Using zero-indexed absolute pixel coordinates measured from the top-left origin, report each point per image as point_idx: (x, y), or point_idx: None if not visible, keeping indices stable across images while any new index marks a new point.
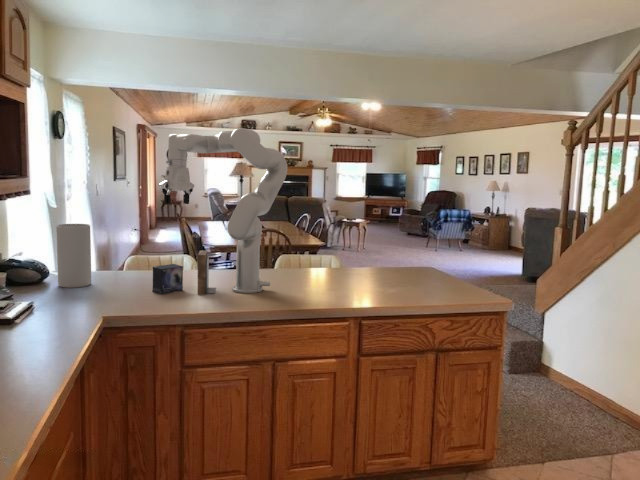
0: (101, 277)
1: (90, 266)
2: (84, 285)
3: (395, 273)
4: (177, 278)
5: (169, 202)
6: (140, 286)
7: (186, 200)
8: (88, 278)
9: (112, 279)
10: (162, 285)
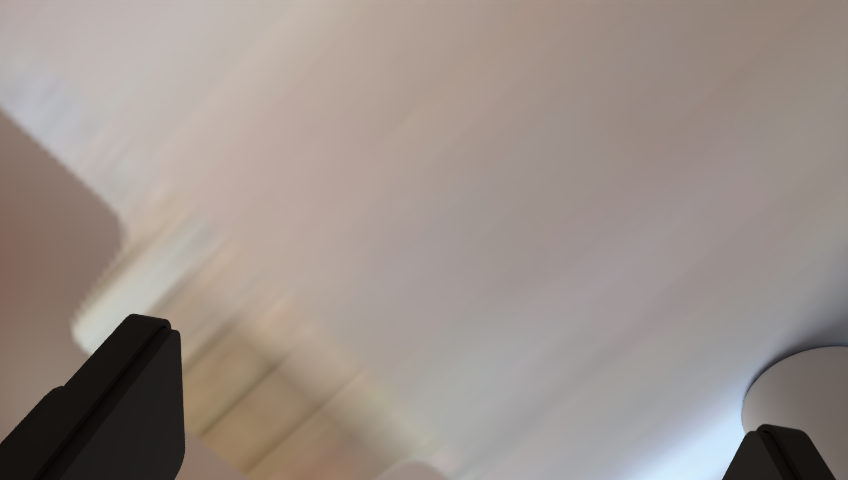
0: (610, 431)
1: (832, 424)
2: (844, 347)
3: None
4: None
5: (808, 456)
6: (691, 136)
7: (138, 423)
8: (830, 370)
9: (619, 368)
10: None
